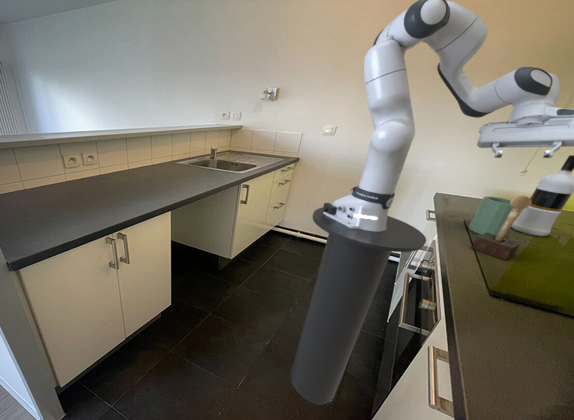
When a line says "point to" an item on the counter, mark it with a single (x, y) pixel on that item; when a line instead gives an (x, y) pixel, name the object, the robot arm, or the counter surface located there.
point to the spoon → (513, 214)
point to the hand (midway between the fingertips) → (521, 156)
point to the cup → (490, 215)
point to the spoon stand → (495, 246)
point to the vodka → (547, 201)
